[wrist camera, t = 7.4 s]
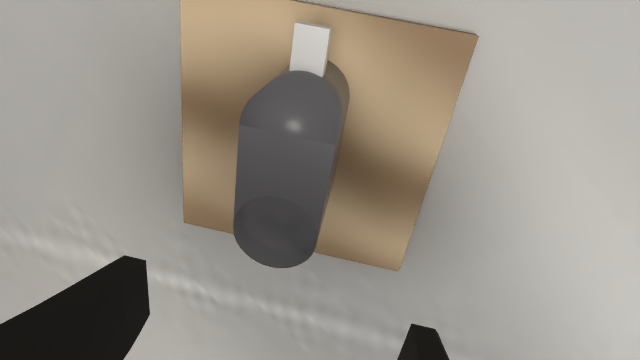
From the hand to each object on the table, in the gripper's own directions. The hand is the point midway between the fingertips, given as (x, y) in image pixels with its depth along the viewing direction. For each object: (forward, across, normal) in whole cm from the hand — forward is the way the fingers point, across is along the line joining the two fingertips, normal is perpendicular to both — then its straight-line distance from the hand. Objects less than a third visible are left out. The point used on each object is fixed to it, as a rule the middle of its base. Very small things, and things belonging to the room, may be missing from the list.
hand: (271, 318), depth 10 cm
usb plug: (+9, +1, -2) cm, 9 cm away
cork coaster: (+10, +1, -1) cm, 10 cm away
